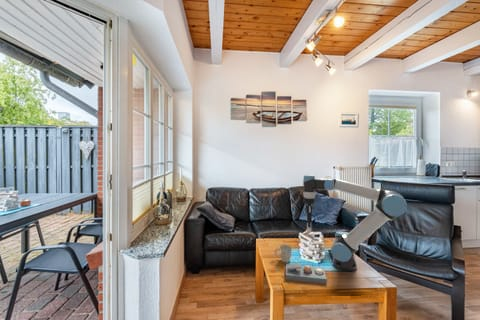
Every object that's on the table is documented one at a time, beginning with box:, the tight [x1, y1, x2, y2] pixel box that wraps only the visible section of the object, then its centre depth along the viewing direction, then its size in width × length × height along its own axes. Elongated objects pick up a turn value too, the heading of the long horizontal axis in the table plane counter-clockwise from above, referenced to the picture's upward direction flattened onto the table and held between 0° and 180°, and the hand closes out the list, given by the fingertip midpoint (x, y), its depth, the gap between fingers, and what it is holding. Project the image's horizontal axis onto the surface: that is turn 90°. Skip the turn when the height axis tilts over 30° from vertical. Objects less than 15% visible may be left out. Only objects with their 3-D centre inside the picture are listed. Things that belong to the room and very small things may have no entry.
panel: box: [285, 263, 328, 285], centre depth 145 cm, size 24×14×4 cm, turn 78°
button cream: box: [316, 268, 323, 275], centre depth 143 cm, size 4×4×3 cm
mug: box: [274, 244, 293, 263], centre depth 167 cm, size 8×13×10 cm, turn 78°
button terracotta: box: [303, 264, 312, 273], centre depth 145 cm, size 4×4×3 cm
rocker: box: [288, 262, 302, 270], centre depth 147 cm, size 8×5×1 cm, turn 77°
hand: (309, 231), depth 157 cm, fingers closed
